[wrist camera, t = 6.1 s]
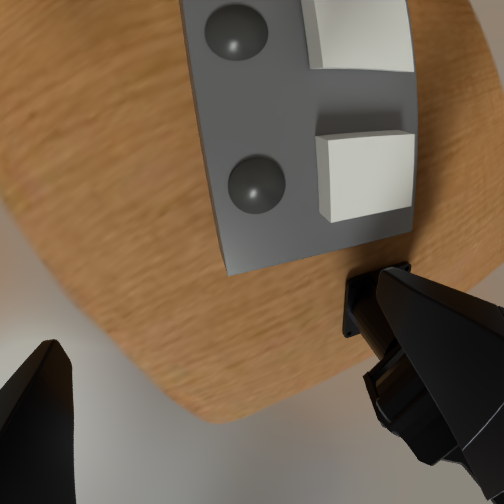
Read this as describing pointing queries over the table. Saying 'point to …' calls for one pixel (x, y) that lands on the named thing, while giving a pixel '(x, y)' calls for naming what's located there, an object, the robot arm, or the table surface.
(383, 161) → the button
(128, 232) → the table surface
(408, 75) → the control panel
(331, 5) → the middle button
